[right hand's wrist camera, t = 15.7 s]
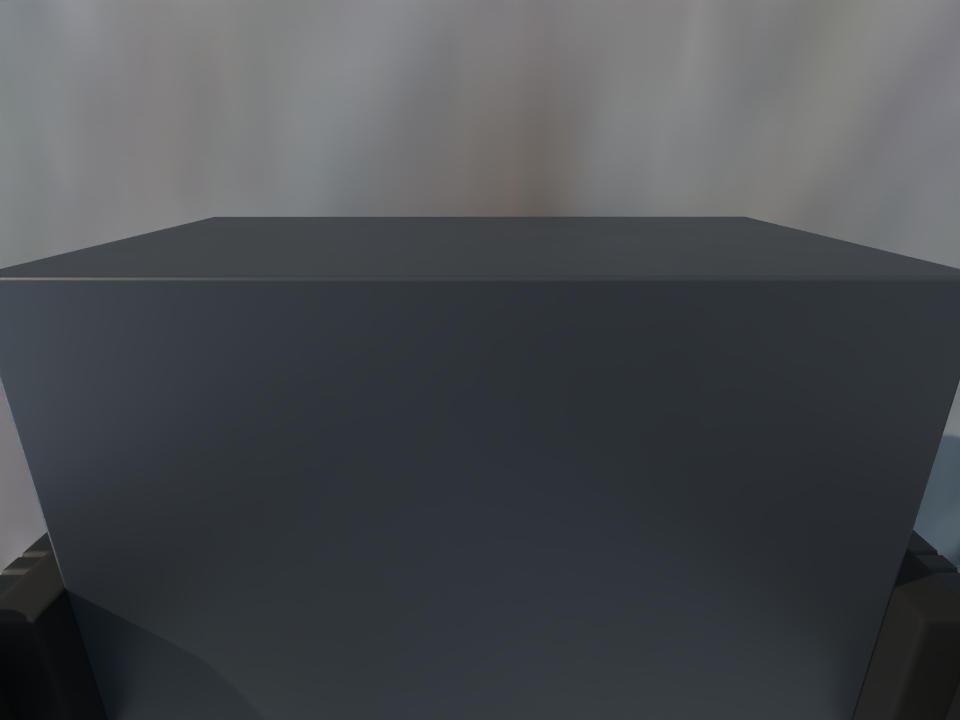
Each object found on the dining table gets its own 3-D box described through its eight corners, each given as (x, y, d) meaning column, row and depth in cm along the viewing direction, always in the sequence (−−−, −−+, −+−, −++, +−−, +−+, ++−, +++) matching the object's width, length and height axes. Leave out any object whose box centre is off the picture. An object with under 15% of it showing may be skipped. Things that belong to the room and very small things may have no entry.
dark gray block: (746, 216, 12) (995, 276, 6) (681, 629, 15) (797, 904, 10) (213, 216, 12) (-37, 276, 6) (278, 629, 15) (162, 904, 10)
